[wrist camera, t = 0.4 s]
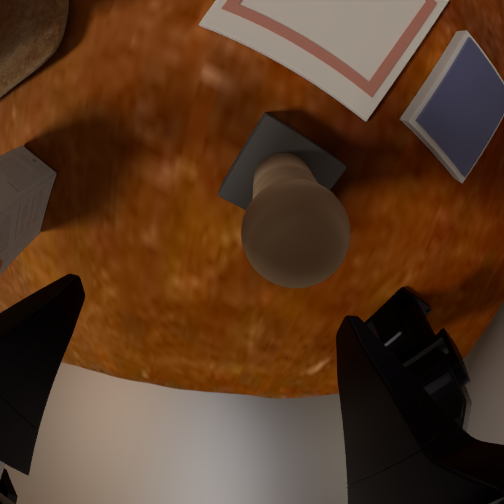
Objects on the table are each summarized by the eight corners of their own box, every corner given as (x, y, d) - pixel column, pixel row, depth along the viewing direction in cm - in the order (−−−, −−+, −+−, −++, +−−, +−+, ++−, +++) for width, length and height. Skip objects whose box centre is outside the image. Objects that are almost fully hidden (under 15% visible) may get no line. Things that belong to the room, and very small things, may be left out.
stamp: (336, 157, 18) (415, 240, 9) (291, 220, 21) (315, 340, 11) (265, 111, 17) (276, 140, 7) (222, 182, 19) (187, 287, 10)
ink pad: (503, 95, 13) (515, 98, 11) (453, 177, 18) (464, 184, 17) (456, 31, 11) (468, 30, 9) (399, 119, 16) (410, 122, 15)
